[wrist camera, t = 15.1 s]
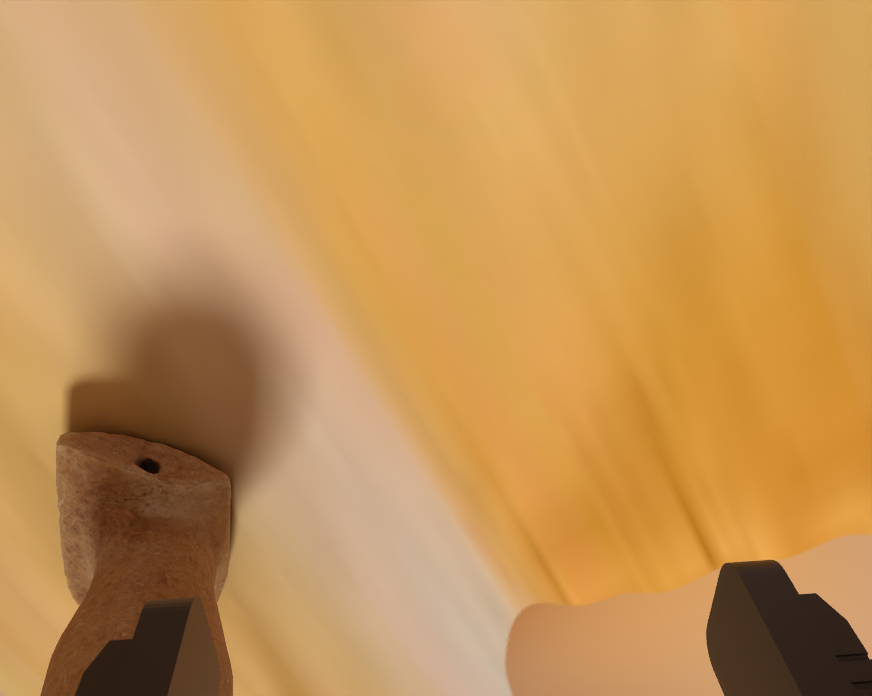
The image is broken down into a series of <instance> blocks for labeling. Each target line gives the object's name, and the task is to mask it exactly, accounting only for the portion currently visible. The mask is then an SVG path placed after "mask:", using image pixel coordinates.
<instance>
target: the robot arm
mask: <svg viewBox="0 0 872 696" xmlns="http://www.w3.org/2000/svg"><path fill="white" fill-rule="evenodd" d="M706 638H707V647H708V653H709V657H710V661H711V664H712V667H713V670H714V672H715V674H716V677H717V679H718V681H719V684H720V686H721V688H722V691H723V693H724V695H725V696H872V659H871V660H870V659H869V658H868V652H867V651H866V649H865V648H864V646H863V645H862V643H861V642H860V640H859V638H858V637H857V635H856V634H855V632H854V631H853V629H852V627H851V626H850V624H849V623H848V621H847V620H846V619H845V618H844V617H842V616H841V615H840V614H839V613H838V612H837V611H836V610H834V609H833V608H832V607H831V606H830V605H829V604H827V603H826V602H825V601H824V600H823V599H822V598H821V597H820V596H818V595H817V594H816V593H813V594H798V592H797V590H796V589H795V587H794V585H793V584H792V582H791V580H790V579H789V577H788V575H787V573H786V572H785V570H784V569H783V567H782V566H781V565H780V564H779V563H778V562H777V561H774V560H763V561H749V562H734V563H725V564H724V565H723V566H722V568H721V570H720V574H719V578H718V582H717V586H716V591H715V595H714V599H713V603H712V608H711V612H710V615H709V619H708V624H707V631H706ZM219 688H220V670H219V661H218V657H217V653H216V649H215V646H214V642H213V638H212V635H211V631H210V627H209V624H208V620H207V616H206V613H205V609H204V605H203V602H202V600H201V599H200V598H199V597H188V598H174V599H159V600H149V601H147V602H146V604H145V605H144V607H143V609H142V611H141V614H140V617H139V620H138V623H137V626H136V629H135V633H134V636H133V639H124V640H110V641H109V642H108V643H107V644H106V645H105V647H104V648H103V649H102V650H101V652H100V653H99V654H98V655H97V657H96V658H95V659H94V660H93V661H92V663H91V664H90V665H89V666H88V668H87V669H86V670H85V671H84V673H83V675H82V678H81V680H80V683H79V686H78V688H77V691H76V694H75V696H219Z"/></svg>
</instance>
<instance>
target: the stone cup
mask: <svg viewBox="0 0 872 696" xmlns="http://www.w3.org/2000/svg"><path fill="white" fill-rule="evenodd" d="M56 484H57V492H58V507H59V511H60V520H59V521H60V535H61V549H62V557H63V562H64V569H65V575H66V577H67V583H68V588H69V590H70V592H71V595H72V597H73V599H74V600H75V602H76V603H77V604H78V605H80V606H79V608H78V610H77V611H76V613H75V615H74V616H73V618H72V619H71V621H70V623H69V624H68V626H67V628H66V629H65V631H64V632H63V634H62V635H61V637H60V639H59V642H58V644H57V646H56V648H55V650H54V652H53V654H52V657H51V660H50V663H49V667H48V670H47V674H46V677H45V681H44V685H43V688H42V692H41V696H75V694H76V691H77V688H78V686H79V683H80V680H81V678H82V675H83V673H84V671H85V670H86V669H87V668H88V666H89V665H90V664H91V663H92V661H93V660H94V659H95V658H96V657H97V655H98V654H99V653H100V652H101V650H102V649H103V648H104V647H105V645H106V644H107V643H108V642H109V641H110V640H124V639H133V636H134V633H135V629H136V626H137V623H138V620H139V617H140V614H141V611H142V609H143V607H144V605H145V604H146V602H147V601H149V600H159V599H174V598H188V597H199V598H200V599H201V600H202V602H203V605H204V609H205V613H206V616H207V620H208V624H209V627H210V631H211V635H212V638H213V642H214V646H215V649H216V653H217V657H218V661H219V670H220V688H219V696H233V675H232V669H231V664H230V659H229V655H228V651H227V647H226V642H225V638H224V633H223V629H222V625H221V620H220V616H219V611H218V606H217V601H218V599H219V597H220V594H221V592H222V589H223V586H224V583H225V580H226V577H227V574H228V565H229V556H230V501H231V484H230V478H229V477H228V476H227V475H226V474H225V473H224V472H222V471H221V470H218V469H216V468H214V467H212V466H210V465H208V464H207V463H205V462H203V461H202V460H200V459H198V458H197V457H195V456H191V455H189V454H187V453H184V452H182V451H180V450H178V449H175V448H171V447H169V446H167V445H165V444H162V443H155V442H148V441H147V440H144V439H140V438H135V437H131V436H127V435H122V434H108V433H105V432H68V433H65V434H63V435H61V436H60V438H59V439H58V441H57V447H56Z"/></svg>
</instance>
